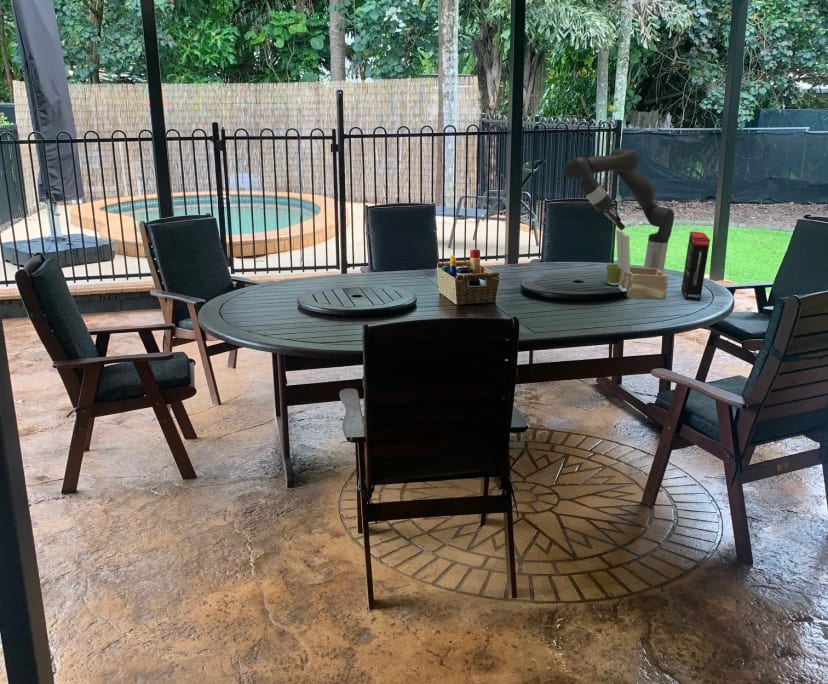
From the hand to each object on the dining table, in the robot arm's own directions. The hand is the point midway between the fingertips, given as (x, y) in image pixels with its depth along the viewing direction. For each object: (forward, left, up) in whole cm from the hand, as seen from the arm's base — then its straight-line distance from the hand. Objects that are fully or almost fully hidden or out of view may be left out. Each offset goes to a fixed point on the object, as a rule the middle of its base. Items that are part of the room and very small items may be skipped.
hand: (622, 228), depth 330 cm
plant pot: (-14, +4, -28) cm, 31 cm away
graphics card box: (0, +34, -28) cm, 44 cm away
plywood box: (+1, +12, -28) cm, 30 cm away
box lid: (+1, +2, -10) cm, 10 cm away
